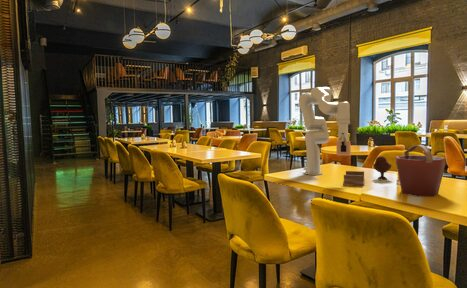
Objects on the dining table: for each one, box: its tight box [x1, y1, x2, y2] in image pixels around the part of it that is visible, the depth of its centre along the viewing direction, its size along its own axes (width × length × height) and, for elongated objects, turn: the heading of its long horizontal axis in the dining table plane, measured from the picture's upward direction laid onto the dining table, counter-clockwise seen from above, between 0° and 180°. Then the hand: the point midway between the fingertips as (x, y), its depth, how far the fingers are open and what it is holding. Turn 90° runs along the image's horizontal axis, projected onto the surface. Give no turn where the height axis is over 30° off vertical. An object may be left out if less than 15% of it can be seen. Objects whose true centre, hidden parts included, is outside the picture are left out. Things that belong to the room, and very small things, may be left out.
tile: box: [336, 140, 352, 157], centre depth 201 cm, size 3×8×9 cm, turn 65°
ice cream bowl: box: [372, 155, 392, 180], centre depth 210 cm, size 11×11×15 cm
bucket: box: [395, 144, 446, 197], centre depth 168 cm, size 24×22×25 cm
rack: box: [342, 170, 366, 187], centre depth 200 cm, size 17×12×6 cm
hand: (343, 151), depth 201 cm, fingers closed on tile, 3 cm apart
